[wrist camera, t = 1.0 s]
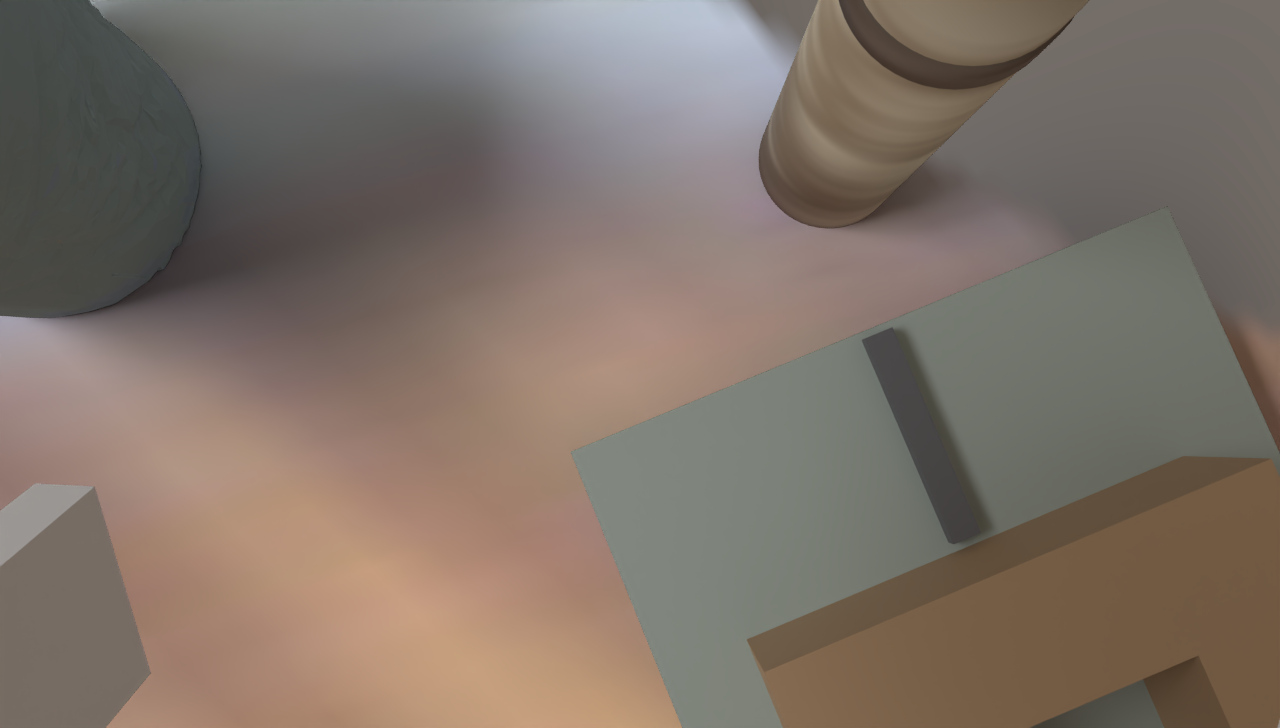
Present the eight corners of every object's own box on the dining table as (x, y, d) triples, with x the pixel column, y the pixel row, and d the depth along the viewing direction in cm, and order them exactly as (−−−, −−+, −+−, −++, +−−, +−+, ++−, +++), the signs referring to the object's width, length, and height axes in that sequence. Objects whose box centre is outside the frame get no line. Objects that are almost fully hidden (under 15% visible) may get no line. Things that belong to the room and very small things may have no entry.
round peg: (735, 122, 30) (818, -152, 16) (864, 70, 30) (1057, -246, 16) (790, 251, 30) (923, 86, 16) (920, 198, 30) (1165, -14, 16)
